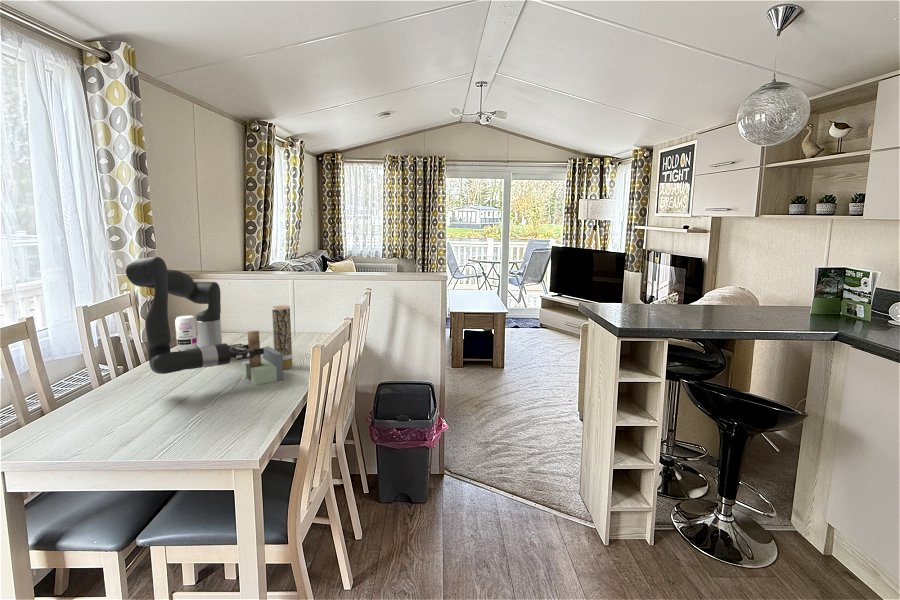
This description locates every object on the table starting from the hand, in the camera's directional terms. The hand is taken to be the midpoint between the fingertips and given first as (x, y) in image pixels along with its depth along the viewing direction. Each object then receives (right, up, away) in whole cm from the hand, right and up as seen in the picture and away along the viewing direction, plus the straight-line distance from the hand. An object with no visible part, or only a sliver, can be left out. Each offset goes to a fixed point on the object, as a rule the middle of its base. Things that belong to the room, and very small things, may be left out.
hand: (259, 348), depth 200 cm
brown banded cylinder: (-1, -11, +1) cm, 12 cm away
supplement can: (-48, -4, +42) cm, 64 cm away
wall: (+4, -11, +5) cm, 12 cm away
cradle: (0, -11, +2) cm, 12 cm away
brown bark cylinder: (+4, -9, +15) cm, 19 cm away
